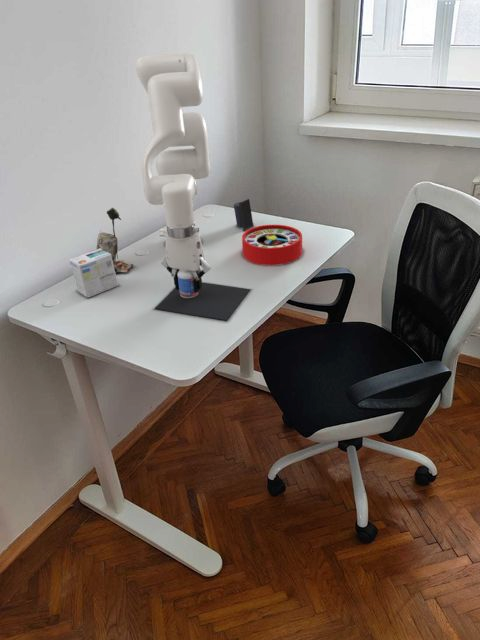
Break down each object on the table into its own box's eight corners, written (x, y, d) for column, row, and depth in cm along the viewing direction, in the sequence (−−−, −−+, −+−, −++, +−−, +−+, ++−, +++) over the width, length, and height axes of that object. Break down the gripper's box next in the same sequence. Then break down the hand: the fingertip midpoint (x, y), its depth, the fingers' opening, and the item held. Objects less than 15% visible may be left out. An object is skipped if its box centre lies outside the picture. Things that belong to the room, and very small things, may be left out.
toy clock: (256, 221, 183) (310, 228, 176) (257, 237, 187) (310, 244, 180) (231, 243, 168) (289, 252, 162) (232, 260, 172) (289, 269, 165)
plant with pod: (108, 262, 174) (94, 203, 162) (137, 266, 170) (126, 206, 159) (93, 272, 167) (79, 212, 156) (123, 277, 164) (111, 216, 153)
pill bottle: (195, 299, 150) (191, 269, 144) (177, 298, 151) (173, 267, 145) (200, 290, 154) (197, 260, 149) (183, 289, 155) (179, 259, 150)
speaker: (257, 227, 194) (253, 199, 188) (243, 231, 191) (239, 203, 186) (247, 222, 199) (243, 195, 194) (234, 226, 197) (230, 199, 192)
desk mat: (154, 309, 147) (154, 308, 147) (183, 280, 161) (183, 279, 161) (226, 321, 141) (226, 319, 141) (249, 290, 154) (249, 289, 154)
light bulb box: (107, 279, 163) (100, 247, 157) (119, 286, 159) (112, 253, 153) (76, 291, 157) (67, 258, 151) (87, 298, 153) (79, 265, 147)
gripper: (215, 228, 142) (220, 286, 152) (159, 221, 147) (168, 279, 157) (204, 238, 136) (210, 299, 146) (146, 232, 141) (156, 290, 151)
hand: (188, 288), depth 152 cm, fingers closed on pill bottle, 5 cm apart
